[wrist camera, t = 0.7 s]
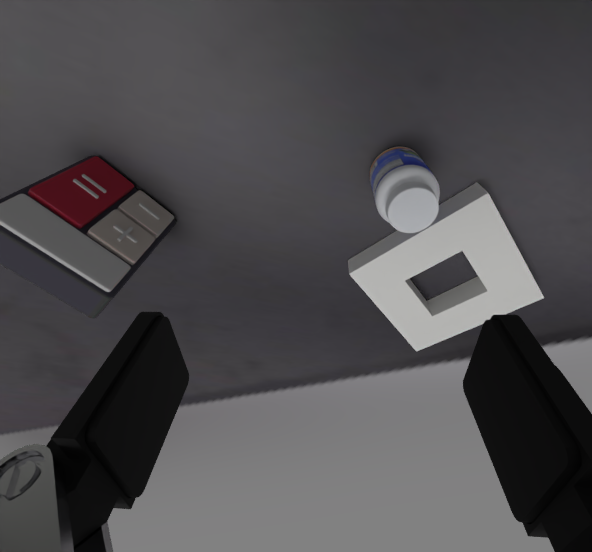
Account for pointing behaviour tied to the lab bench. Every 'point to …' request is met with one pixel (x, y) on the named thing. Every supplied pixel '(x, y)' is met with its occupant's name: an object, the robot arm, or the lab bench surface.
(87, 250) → the calculator
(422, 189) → the pill bottle
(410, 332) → the white square frame
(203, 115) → the lab bench surface
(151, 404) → the robot arm
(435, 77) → the lab bench surface
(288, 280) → the lab bench surface
